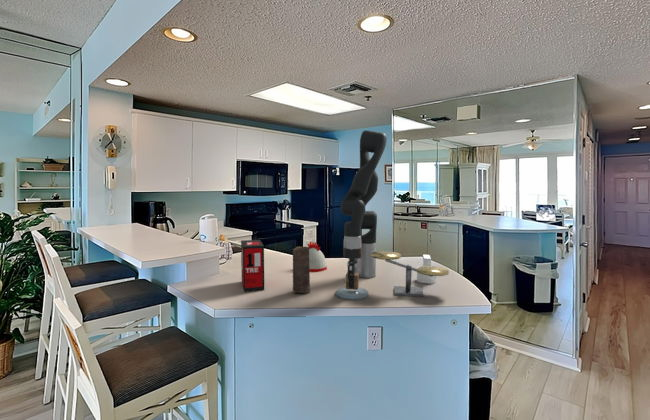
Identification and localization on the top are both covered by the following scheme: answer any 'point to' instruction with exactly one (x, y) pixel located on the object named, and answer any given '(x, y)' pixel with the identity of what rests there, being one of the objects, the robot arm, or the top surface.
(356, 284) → the walnut block
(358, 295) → the dish
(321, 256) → the kitchen timer
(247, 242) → the cleaning product box
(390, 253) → the balance
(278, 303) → the top surface
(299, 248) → the candle
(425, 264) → the cylinder with rectangular tab
